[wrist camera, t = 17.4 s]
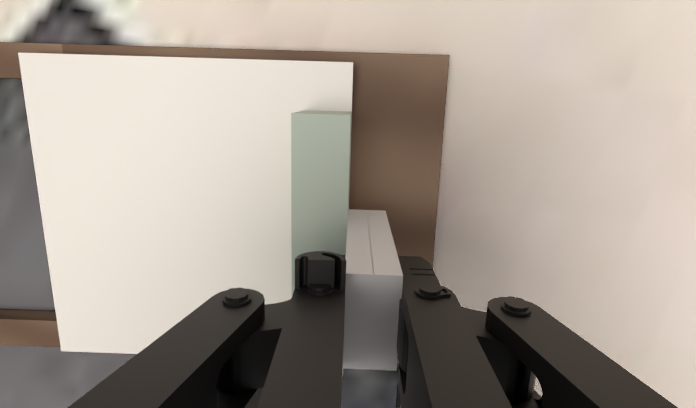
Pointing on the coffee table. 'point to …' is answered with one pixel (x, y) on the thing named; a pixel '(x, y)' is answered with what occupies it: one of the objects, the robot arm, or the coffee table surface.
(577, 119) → the coffee table surface
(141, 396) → the robot arm
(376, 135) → the puzzle board
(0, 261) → the coffee table surface
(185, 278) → the sliding cover
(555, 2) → the coffee table surface
